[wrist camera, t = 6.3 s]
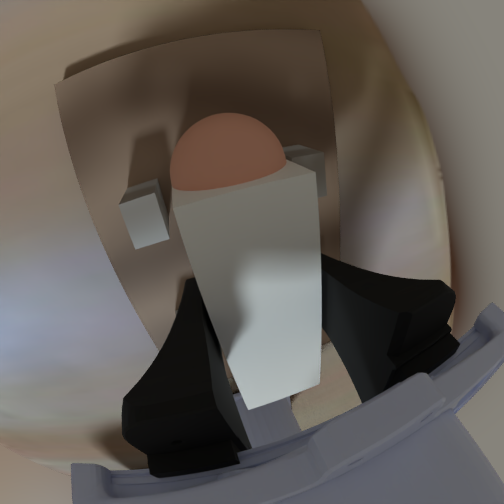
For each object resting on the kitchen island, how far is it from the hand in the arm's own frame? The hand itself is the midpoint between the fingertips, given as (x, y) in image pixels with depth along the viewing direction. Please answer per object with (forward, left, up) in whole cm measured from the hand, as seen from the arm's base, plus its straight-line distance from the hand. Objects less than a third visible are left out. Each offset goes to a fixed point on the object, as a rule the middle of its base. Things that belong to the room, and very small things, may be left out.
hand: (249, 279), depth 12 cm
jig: (0, 0, -4) cm, 4 cm away
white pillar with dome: (0, 0, -2) cm, 2 cm away
